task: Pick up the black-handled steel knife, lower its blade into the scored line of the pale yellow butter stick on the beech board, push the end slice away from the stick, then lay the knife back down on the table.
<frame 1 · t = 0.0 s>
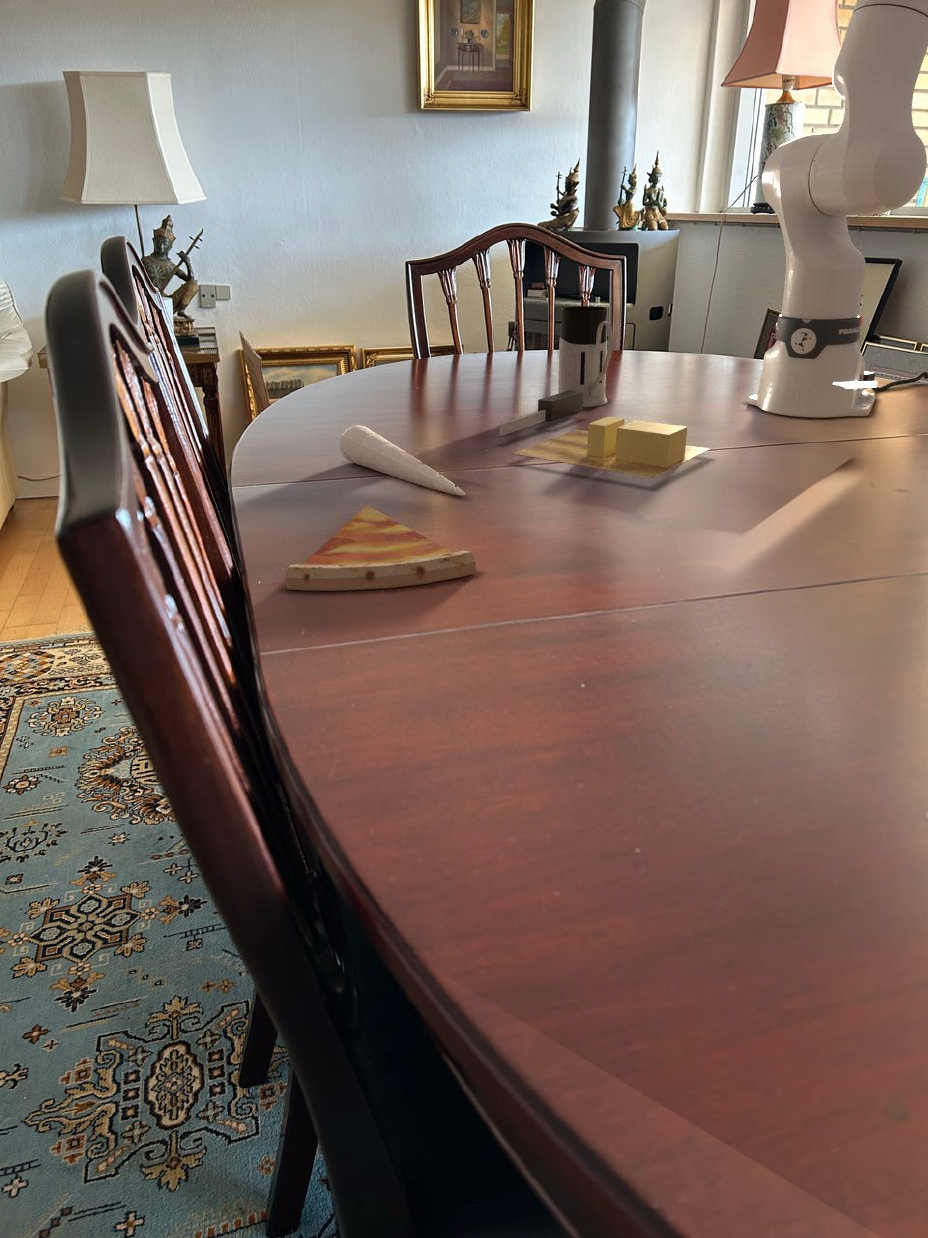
butter: (649, 459, 111), point 1 cm above the table, touching board
unicorn horn: (403, 478, 111), on the table
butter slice: (605, 452, 114), point 1 cm above the table, touching board
knife: (560, 424, 135), on the table
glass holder: (588, 405, 148), on the table
pizza slice: (407, 554, 87), on the table
board: (610, 462, 115), on the table
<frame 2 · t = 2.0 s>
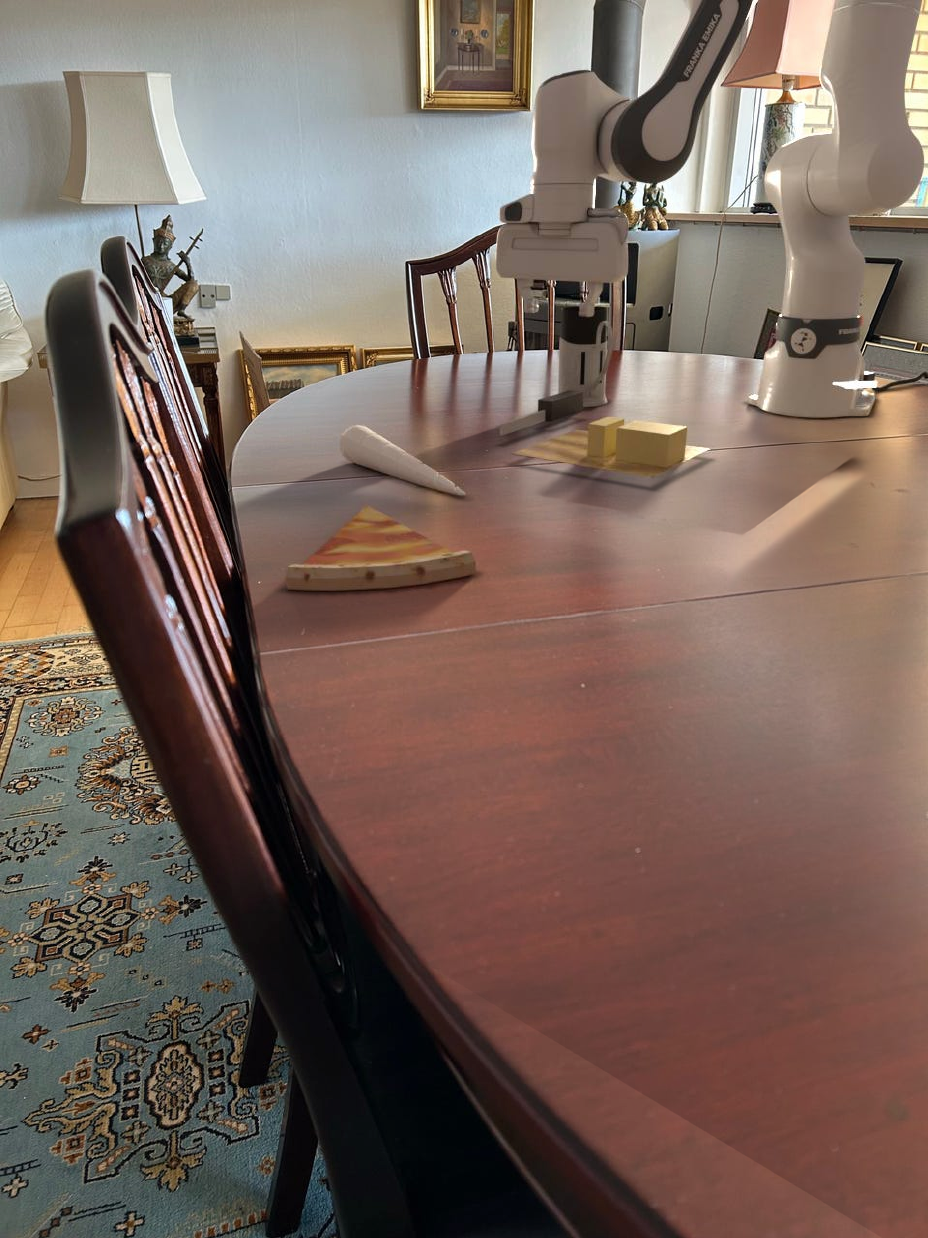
hand: (558, 314, 128), 16 cm above the table, tool pointing down, fingers open, 8 cm apart
nothing on the table moved.
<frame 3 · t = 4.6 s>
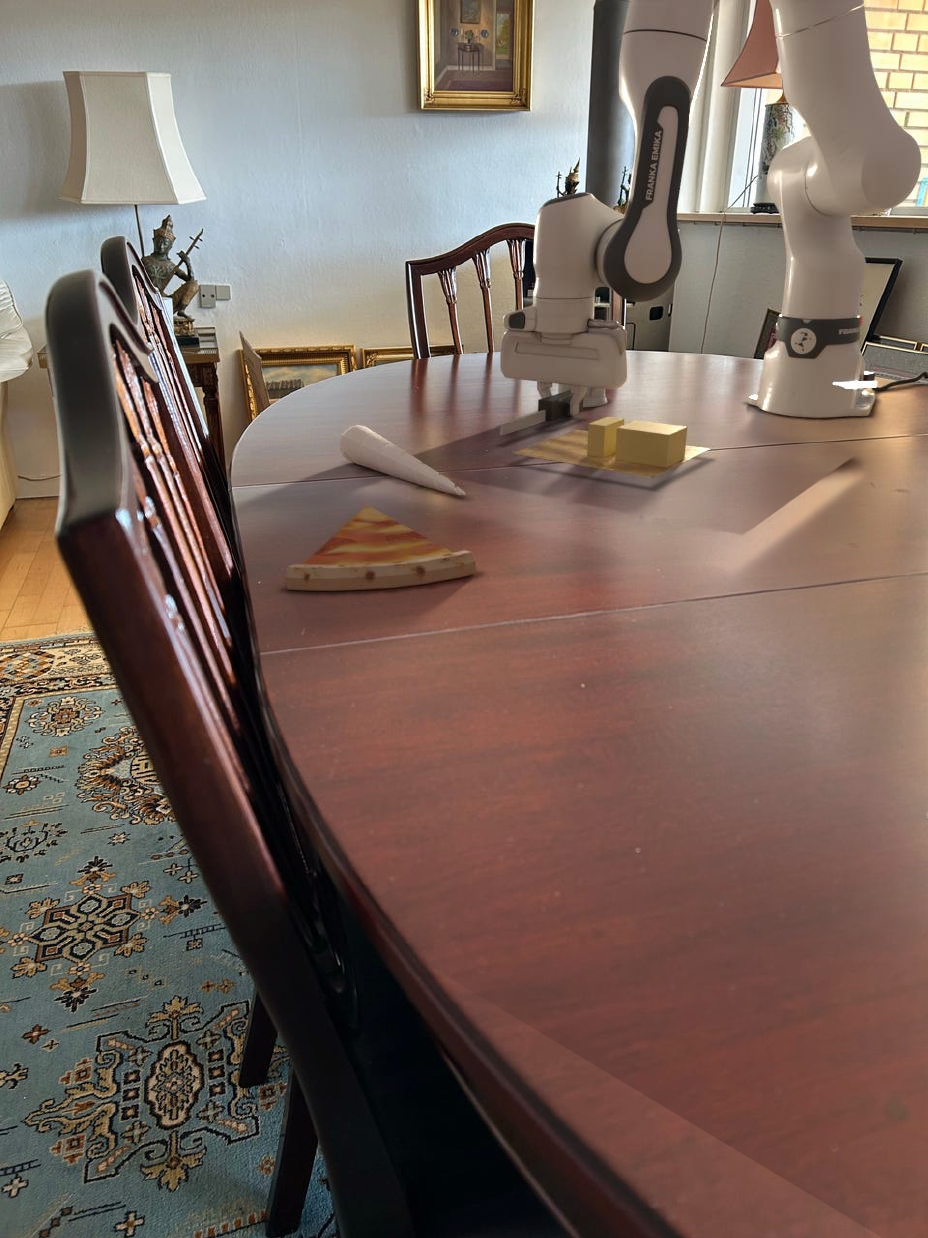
hand: (560, 413, 135), 2 cm above the table, tool pointing down, fingers closed on knife, 2 cm apart
knife: (560, 424, 135), on the table, touching gripper
everything else where it was.
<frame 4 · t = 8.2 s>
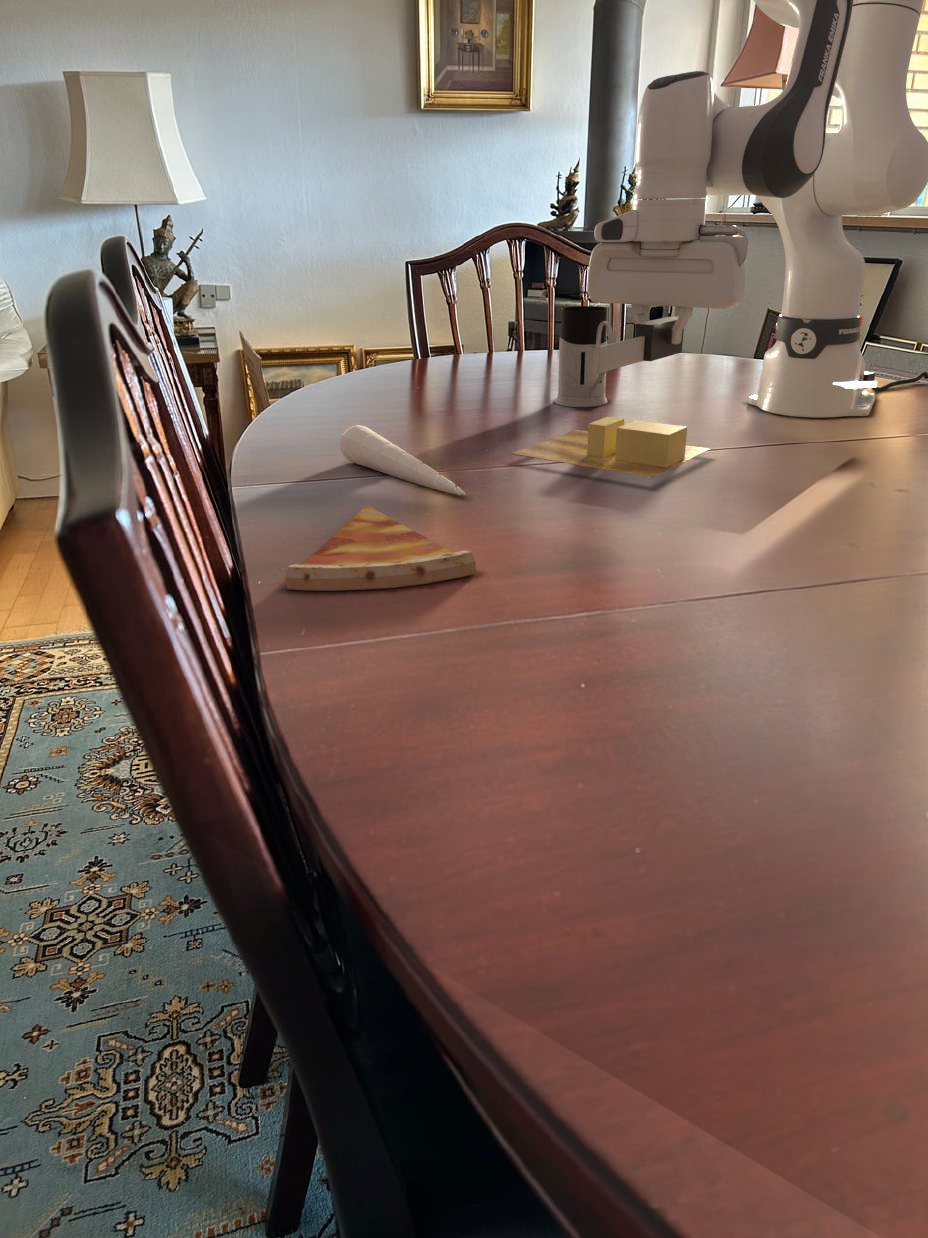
hand: (659, 342, 115), 14 cm above the table, tool pointing down, fingers closed on knife, 2 cm apart
knife: (658, 356, 116), point 12 cm above the table, touching gripper
everything else where it was.
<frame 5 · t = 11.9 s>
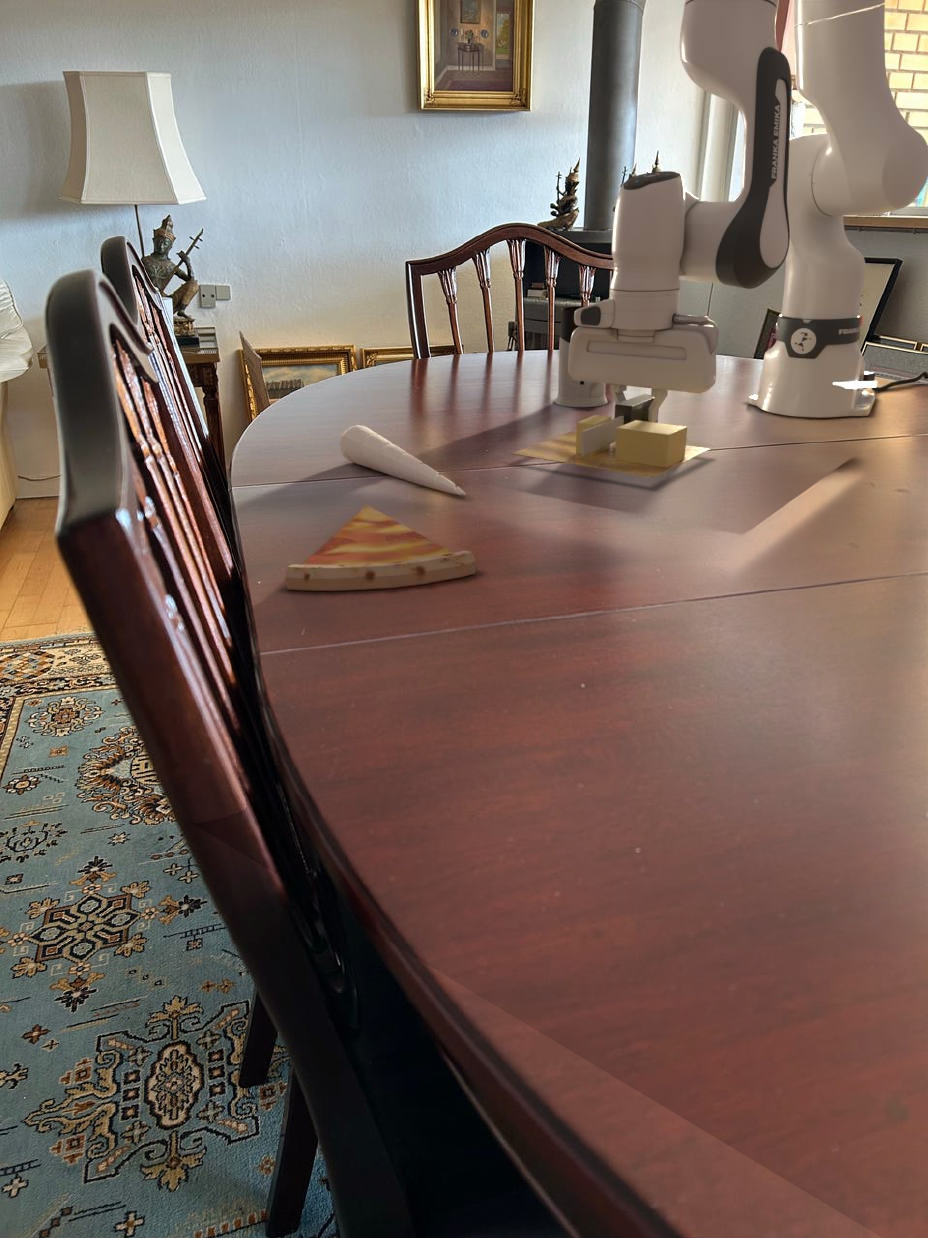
hand: (636, 419, 121), 4 cm above the table, tool pointing down, fingers closed on knife, 2 cm apart
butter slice: (593, 450, 115), point 1 cm above the table, touching board, knife
knife: (635, 432, 121), point 2 cm above the table, touching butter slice, gripper
everything else where it was.
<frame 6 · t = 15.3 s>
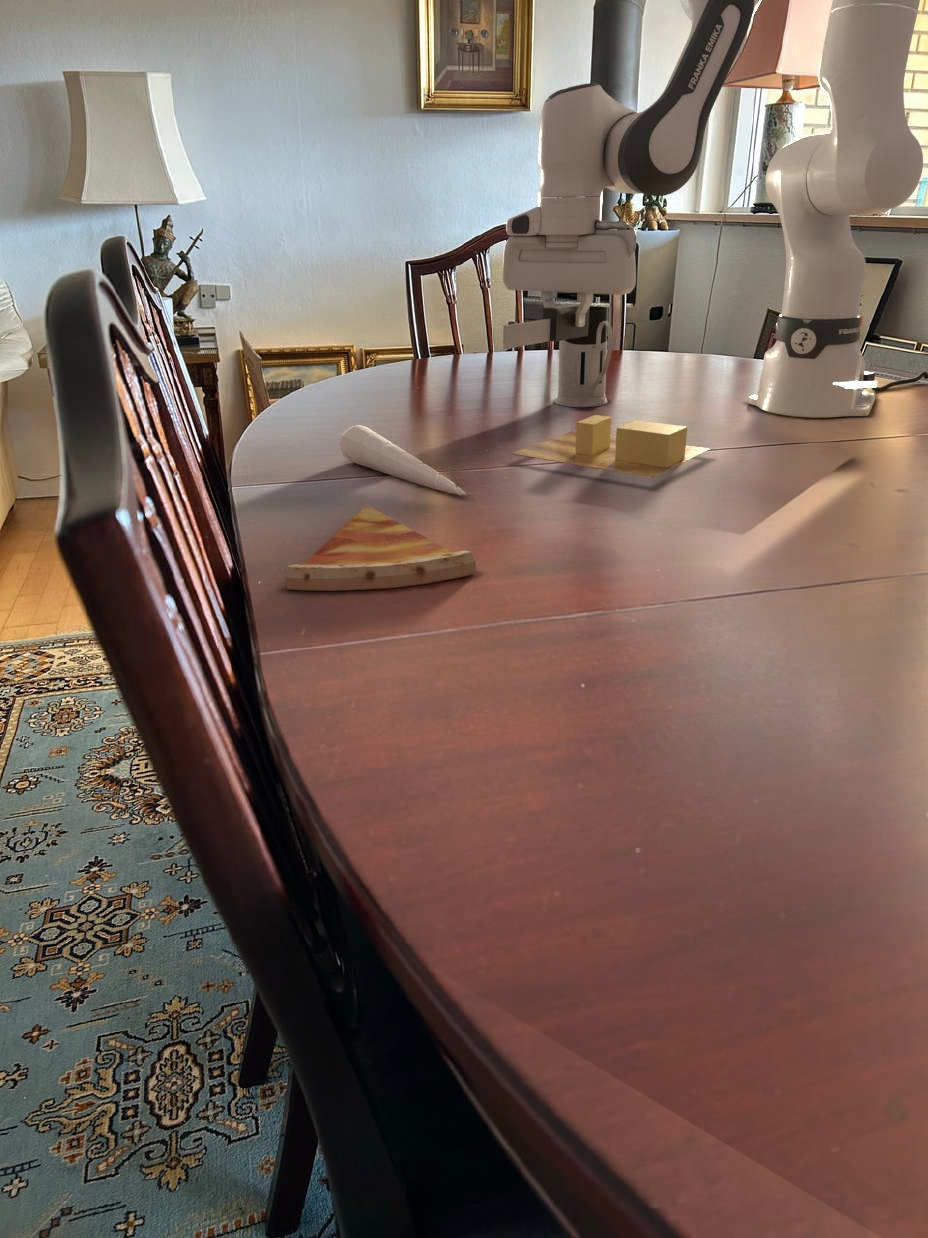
hand: (565, 325, 129), 14 cm above the table, tool pointing down, fingers closed on knife, 2 cm apart
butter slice: (592, 450, 115), point 1 cm above the table, touching board
knife: (565, 337, 129), point 13 cm above the table, touching gripper
everything else where it was.
when the fingers open (2 cm above the table, at t = 18.2 s): knife stays where it is, on the table.
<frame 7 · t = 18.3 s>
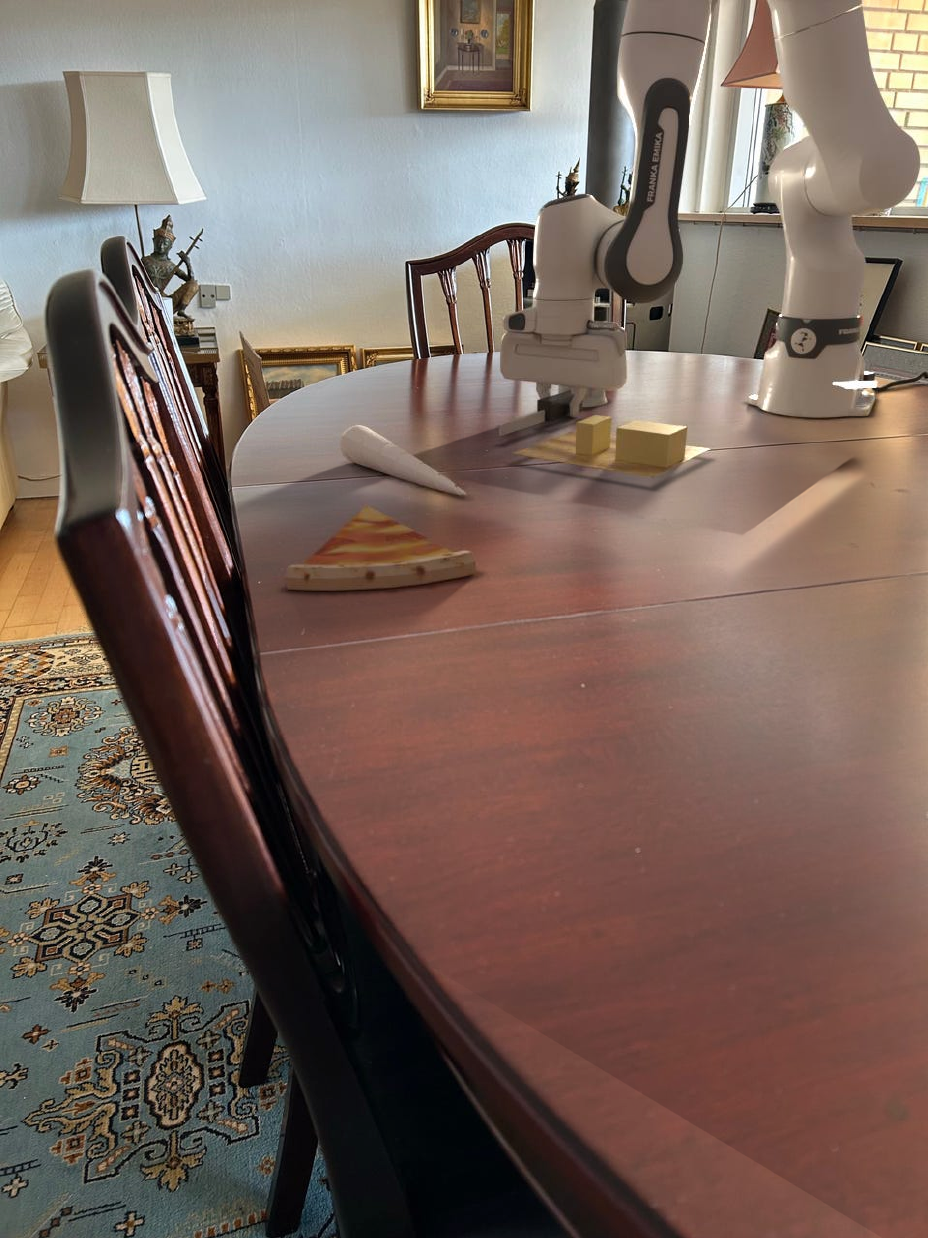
hand: (560, 414, 135), 2 cm above the table, tool pointing down
knife: (559, 424, 135), on the table
everything else where it was.
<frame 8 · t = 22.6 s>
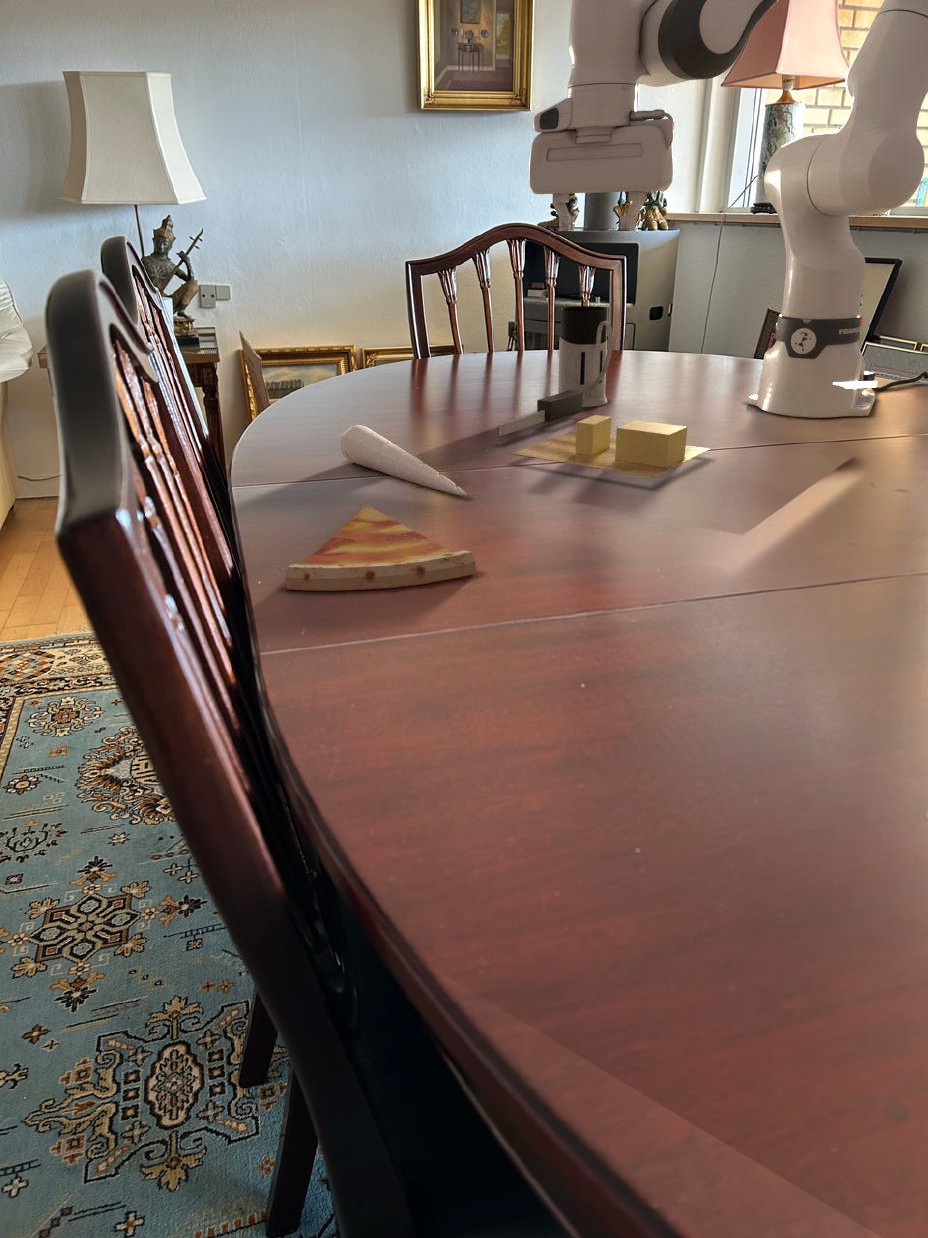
hand: (596, 230, 121), 27 cm above the table, tool pointing down, fingers open, 8 cm apart
nothing on the table moved.
at the end: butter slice 1.8 cm from the target spot on the table beside the butter, resting on board; butter moved 0.0 cm from its start; knife inside the target area (0.2 cm from its centre), on the table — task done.
